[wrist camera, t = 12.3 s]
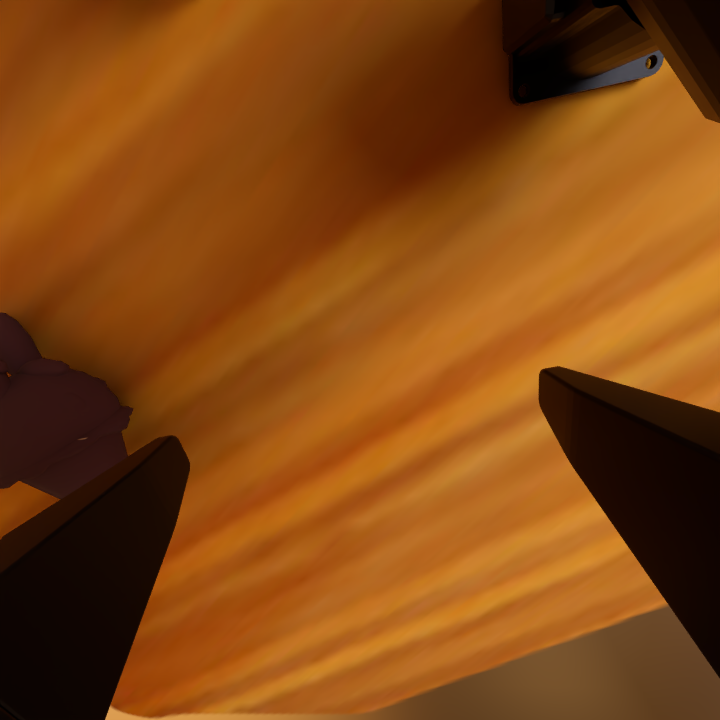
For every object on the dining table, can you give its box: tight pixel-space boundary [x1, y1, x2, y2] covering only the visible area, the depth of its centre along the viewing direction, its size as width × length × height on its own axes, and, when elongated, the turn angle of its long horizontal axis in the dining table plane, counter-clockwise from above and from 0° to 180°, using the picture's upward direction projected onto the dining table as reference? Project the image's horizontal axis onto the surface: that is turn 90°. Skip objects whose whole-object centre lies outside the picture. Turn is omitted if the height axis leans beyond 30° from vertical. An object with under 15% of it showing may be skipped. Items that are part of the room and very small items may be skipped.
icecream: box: [0, 313, 133, 499], centre depth 21 cm, size 7×7×15 cm
